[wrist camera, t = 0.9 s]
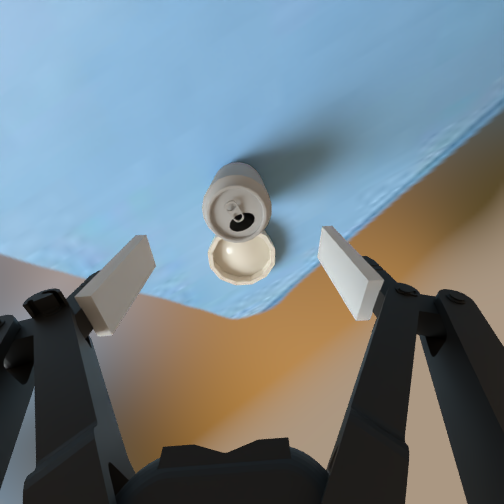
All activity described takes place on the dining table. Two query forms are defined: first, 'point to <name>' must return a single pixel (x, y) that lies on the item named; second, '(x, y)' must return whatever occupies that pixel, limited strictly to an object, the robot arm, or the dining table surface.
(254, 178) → the can
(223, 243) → the bowl
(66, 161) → the dining table surface
